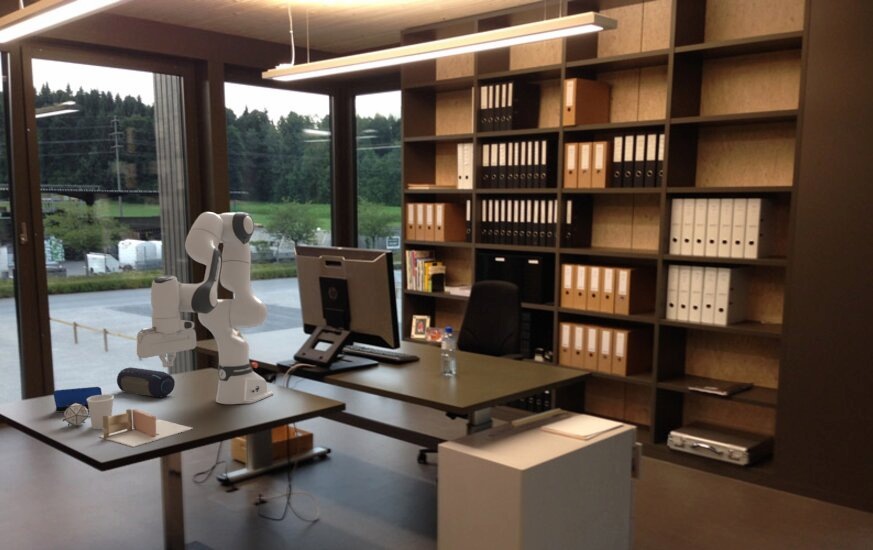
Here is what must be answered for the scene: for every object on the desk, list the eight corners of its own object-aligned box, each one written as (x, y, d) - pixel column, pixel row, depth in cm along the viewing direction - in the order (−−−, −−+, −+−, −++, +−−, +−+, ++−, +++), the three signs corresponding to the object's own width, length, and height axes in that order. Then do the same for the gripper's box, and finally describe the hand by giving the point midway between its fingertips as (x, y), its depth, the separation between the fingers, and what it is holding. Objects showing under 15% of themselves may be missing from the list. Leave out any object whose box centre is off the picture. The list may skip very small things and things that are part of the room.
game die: (74, 435, 244) (72, 408, 249) (97, 426, 244) (95, 399, 248) (56, 429, 236) (55, 401, 241) (79, 420, 236) (78, 393, 240)
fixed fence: (130, 430, 237) (129, 408, 236) (133, 430, 236) (132, 409, 236) (102, 438, 229) (101, 416, 228) (105, 438, 228) (104, 416, 227)
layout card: (158, 420, 249) (158, 419, 249) (192, 429, 239) (192, 427, 239) (99, 437, 230) (99, 435, 230) (133, 447, 220) (133, 445, 220)
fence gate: (132, 428, 238) (131, 409, 237) (136, 427, 239) (136, 408, 238) (152, 436, 229) (151, 417, 228) (157, 435, 230) (156, 416, 229)
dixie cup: (105, 431, 237) (103, 401, 236) (82, 429, 238) (80, 400, 237) (120, 423, 245) (119, 395, 244) (98, 422, 246) (97, 393, 245)
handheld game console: (105, 402, 273) (104, 378, 272) (102, 411, 261) (101, 386, 260) (60, 406, 268) (58, 381, 267) (53, 415, 256) (52, 390, 255)
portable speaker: (112, 393, 285) (111, 369, 284) (132, 388, 294) (132, 364, 293) (158, 401, 274) (157, 375, 273) (178, 395, 283) (177, 370, 282)
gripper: (143, 330, 225) (144, 374, 227) (198, 322, 242) (199, 362, 243) (131, 328, 229) (133, 371, 230) (187, 320, 245) (188, 360, 247)
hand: (168, 366), depth 237 cm, fingers closed
